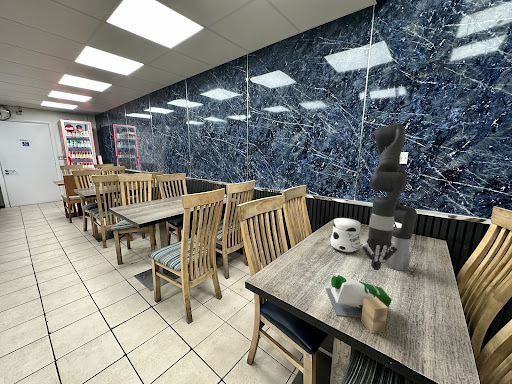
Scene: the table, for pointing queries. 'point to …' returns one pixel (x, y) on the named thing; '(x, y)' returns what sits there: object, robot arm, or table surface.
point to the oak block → (374, 314)
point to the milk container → (346, 235)
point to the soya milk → (356, 292)
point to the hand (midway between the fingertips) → (375, 269)
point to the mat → (343, 307)
